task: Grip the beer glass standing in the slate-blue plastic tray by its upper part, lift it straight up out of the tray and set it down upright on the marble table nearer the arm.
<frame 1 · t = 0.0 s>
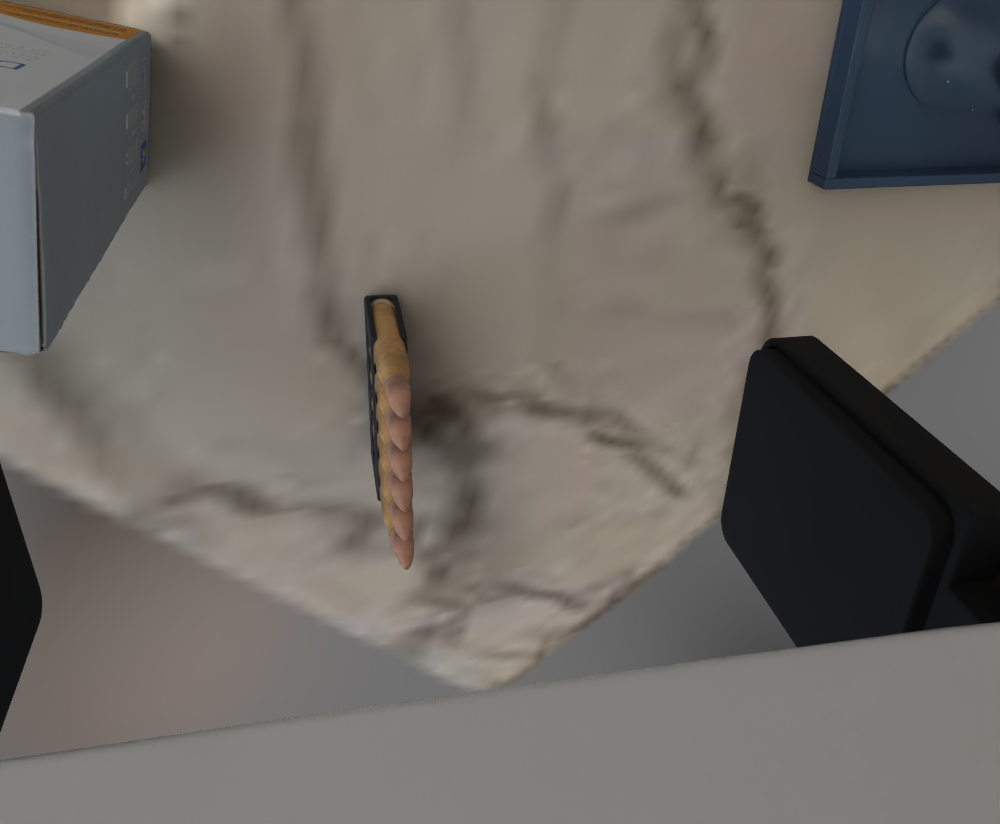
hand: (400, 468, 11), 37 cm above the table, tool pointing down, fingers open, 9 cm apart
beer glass: (952, 48, 48), resting on tray
ammunition clip: (383, 377, 52), on the table
tray: (950, 48, 48), on the table
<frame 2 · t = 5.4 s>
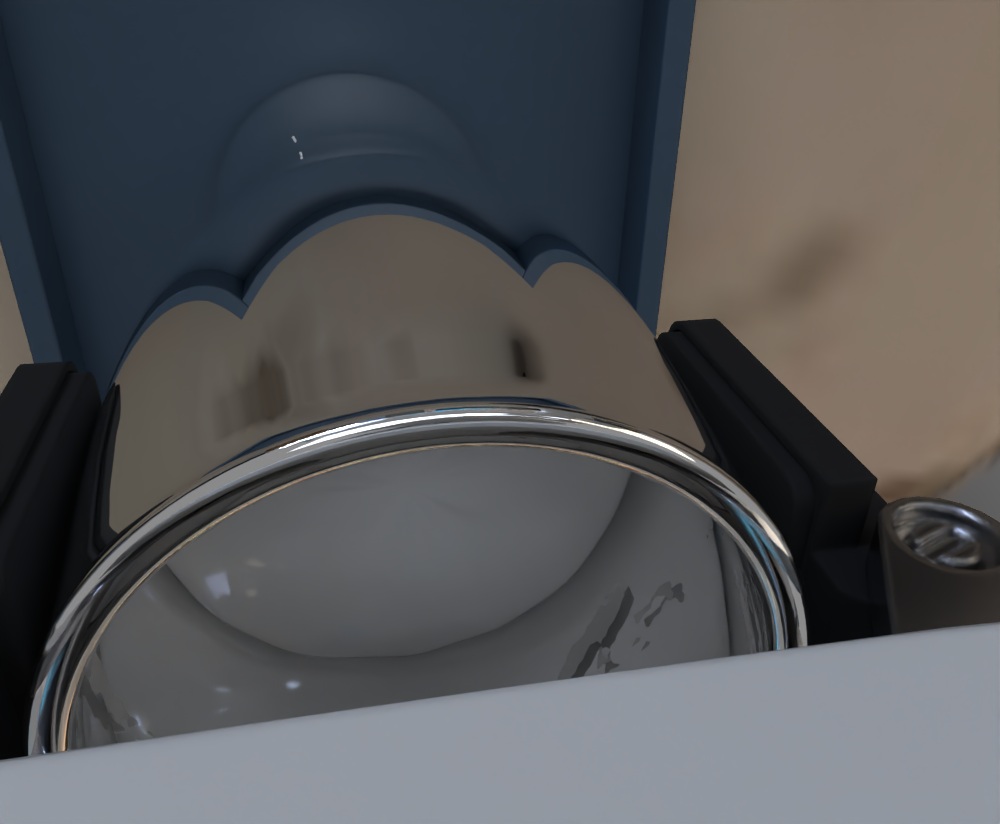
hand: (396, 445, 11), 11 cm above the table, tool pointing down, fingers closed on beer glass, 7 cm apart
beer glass: (354, 208, 20), resting on tray, touching gripper
tray: (353, 205, 20), on the table
when the fingers open (10 cm above the table, at t = 12.8 s): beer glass stays where it is, on the table.
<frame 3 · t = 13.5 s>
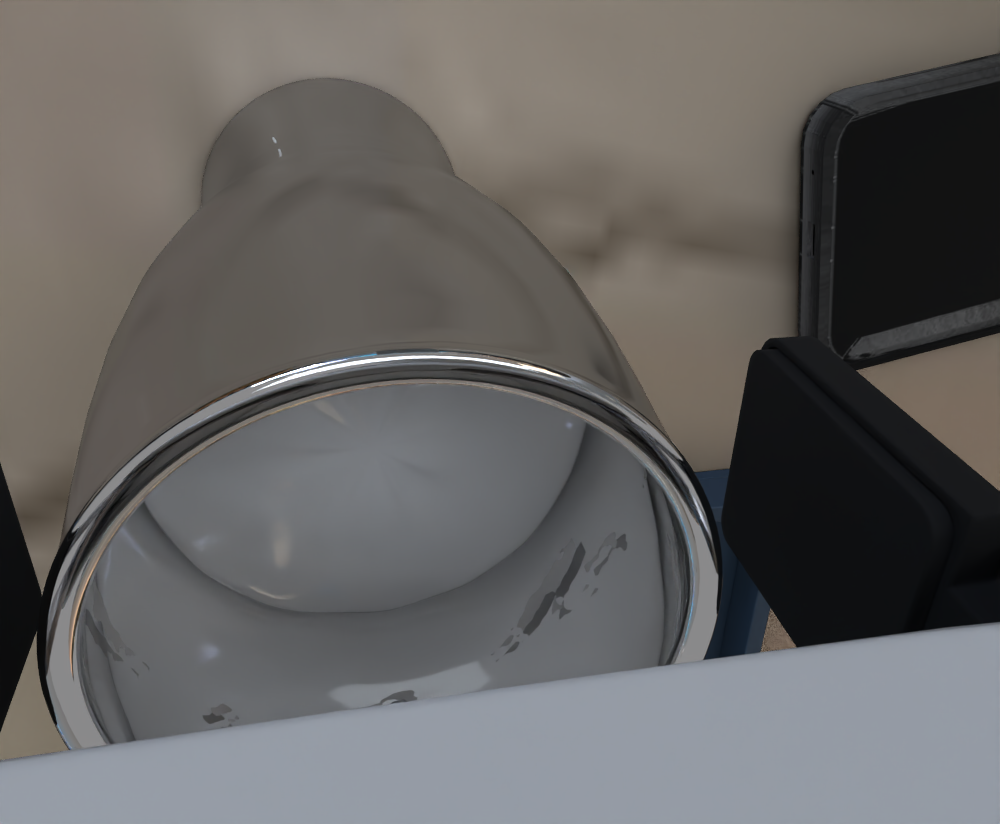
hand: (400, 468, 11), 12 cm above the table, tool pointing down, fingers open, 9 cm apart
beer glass: (333, 207, 21), on the table
tray: (543, 657, 30), on the table
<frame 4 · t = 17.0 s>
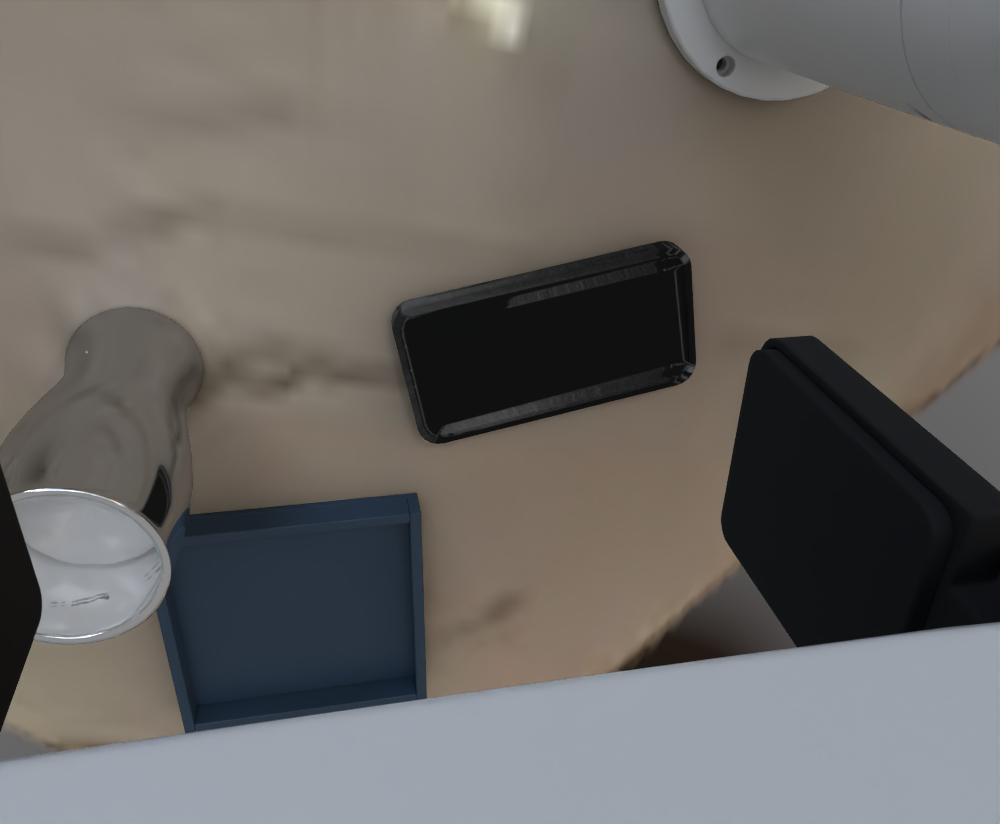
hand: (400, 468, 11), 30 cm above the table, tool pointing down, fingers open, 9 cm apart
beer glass: (137, 363, 41), on the table
phone: (545, 337, 45), on the table
tray: (297, 605, 50), on the table
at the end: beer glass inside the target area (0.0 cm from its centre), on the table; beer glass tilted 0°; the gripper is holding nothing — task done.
